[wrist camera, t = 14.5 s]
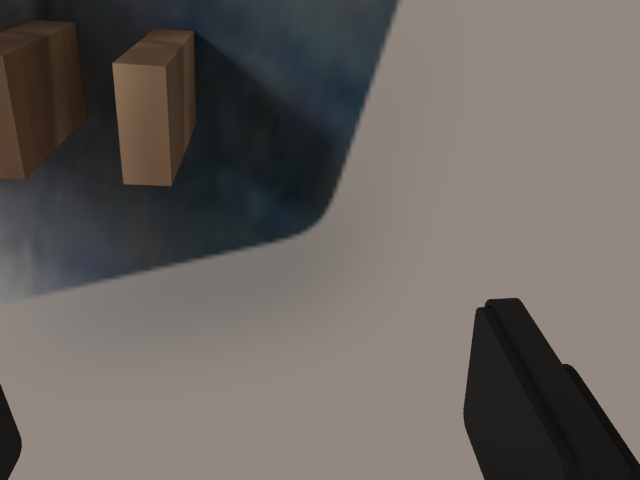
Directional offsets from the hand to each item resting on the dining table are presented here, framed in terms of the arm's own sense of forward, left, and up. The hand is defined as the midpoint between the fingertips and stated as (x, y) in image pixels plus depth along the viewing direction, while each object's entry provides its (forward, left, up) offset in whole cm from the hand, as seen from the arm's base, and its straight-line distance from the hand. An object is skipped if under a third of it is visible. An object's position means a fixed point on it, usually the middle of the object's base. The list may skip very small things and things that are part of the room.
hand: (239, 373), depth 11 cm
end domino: (-5, 0, -23) cm, 24 cm away
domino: (-11, 0, -23) cm, 26 cm away
